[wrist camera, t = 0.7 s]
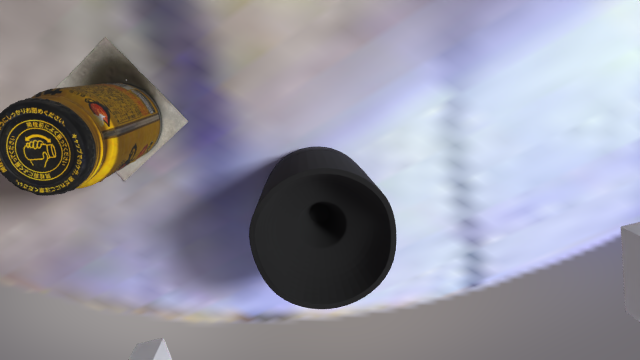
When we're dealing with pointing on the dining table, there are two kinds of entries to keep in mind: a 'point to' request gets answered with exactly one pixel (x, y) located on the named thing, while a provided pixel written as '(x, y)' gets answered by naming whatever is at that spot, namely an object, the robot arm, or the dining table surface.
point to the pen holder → (322, 230)
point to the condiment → (86, 126)
